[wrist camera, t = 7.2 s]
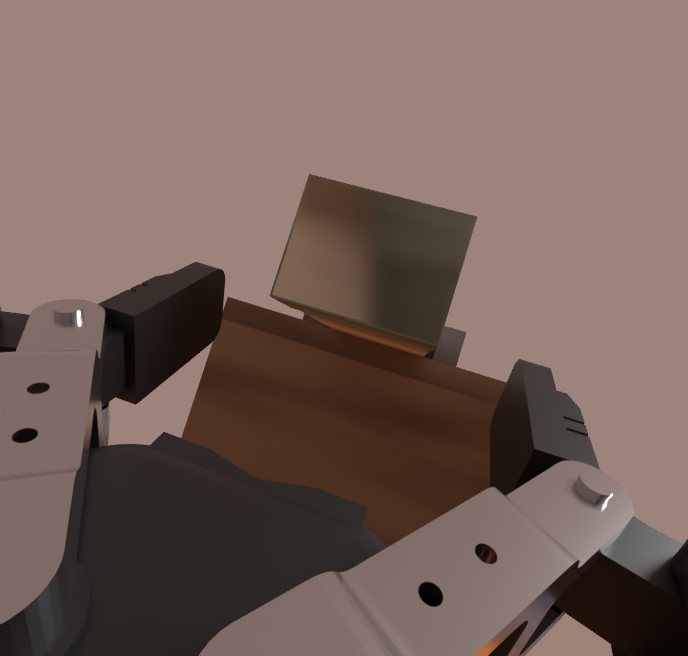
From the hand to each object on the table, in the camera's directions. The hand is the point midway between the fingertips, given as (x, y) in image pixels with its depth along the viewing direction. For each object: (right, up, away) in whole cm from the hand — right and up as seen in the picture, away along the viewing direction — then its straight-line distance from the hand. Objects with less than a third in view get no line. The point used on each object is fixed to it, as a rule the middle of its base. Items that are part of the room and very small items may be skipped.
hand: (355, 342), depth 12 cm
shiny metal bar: (+1, -1, +10) cm, 10 cm away
